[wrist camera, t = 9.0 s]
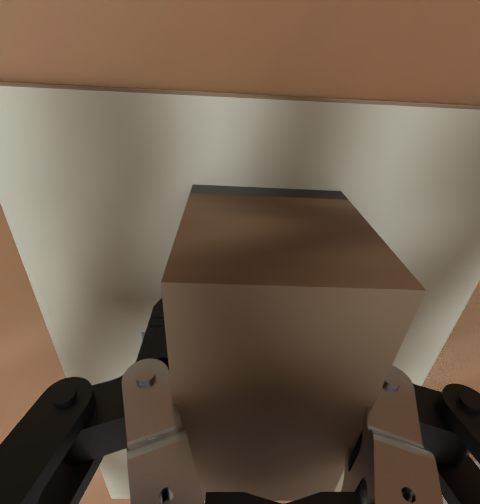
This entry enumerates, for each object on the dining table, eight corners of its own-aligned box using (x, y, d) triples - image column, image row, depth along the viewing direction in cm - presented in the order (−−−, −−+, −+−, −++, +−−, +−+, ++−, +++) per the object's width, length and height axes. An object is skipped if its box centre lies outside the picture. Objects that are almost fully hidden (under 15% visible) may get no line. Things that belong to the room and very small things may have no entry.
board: (530, 108, 11) (572, 114, 9) (353, 473, 24) (360, 497, 23) (-9, 80, 10) (-46, 83, 9) (118, 474, 23) (111, 499, 22)
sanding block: (341, 190, 11) (426, 290, 6) (300, 367, 15) (329, 500, 11) (192, 184, 10) (160, 282, 6) (197, 365, 15) (181, 500, 10)
